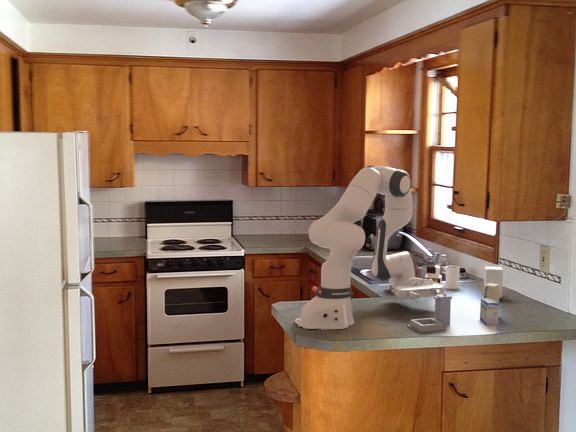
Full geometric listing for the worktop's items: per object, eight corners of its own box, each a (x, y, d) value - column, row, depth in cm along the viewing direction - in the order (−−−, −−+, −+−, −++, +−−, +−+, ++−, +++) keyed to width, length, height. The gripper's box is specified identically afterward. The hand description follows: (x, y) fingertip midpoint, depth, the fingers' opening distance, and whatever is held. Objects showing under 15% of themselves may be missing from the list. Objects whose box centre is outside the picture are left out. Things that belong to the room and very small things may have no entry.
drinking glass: (460, 287, 333) (461, 266, 332) (457, 289, 327) (458, 268, 326) (446, 285, 336) (446, 265, 335) (443, 288, 330) (443, 267, 329)
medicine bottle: (423, 292, 322) (424, 266, 321) (426, 289, 329) (426, 263, 328) (439, 293, 320) (440, 267, 319) (441, 290, 327) (442, 264, 326)
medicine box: (479, 320, 273) (480, 298, 272) (490, 320, 274) (491, 298, 273) (486, 325, 266) (487, 303, 265) (498, 325, 266) (499, 302, 265)
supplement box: (502, 298, 311) (503, 269, 310) (484, 297, 312) (485, 269, 311) (500, 294, 318) (501, 266, 317) (483, 293, 320) (484, 266, 318)
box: (488, 314, 282) (489, 282, 281) (499, 316, 280) (500, 284, 278) (482, 316, 278) (483, 284, 277) (493, 318, 276) (494, 286, 274)
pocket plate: (419, 333, 255) (419, 326, 255) (406, 325, 265) (406, 319, 265) (447, 331, 258) (447, 324, 258) (433, 323, 268) (433, 317, 268)
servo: (437, 326, 265) (438, 294, 263) (431, 323, 269) (432, 292, 267) (452, 325, 266) (453, 293, 265) (447, 322, 270) (447, 291, 269)
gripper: (389, 282, 288) (404, 289, 275) (434, 278, 294) (451, 285, 281) (389, 297, 289) (404, 305, 276) (434, 293, 295) (451, 301, 281)
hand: (428, 295), depth 278 cm, fingers open, 8 cm apart
